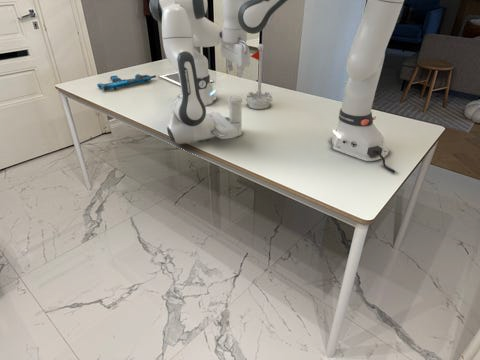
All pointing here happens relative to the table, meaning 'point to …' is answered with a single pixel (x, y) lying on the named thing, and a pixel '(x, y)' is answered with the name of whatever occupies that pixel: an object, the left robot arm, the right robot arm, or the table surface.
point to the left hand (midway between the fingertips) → (237, 121)
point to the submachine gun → (124, 82)
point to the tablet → (173, 78)
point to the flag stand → (259, 87)
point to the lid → (235, 100)
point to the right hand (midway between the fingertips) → (234, 73)
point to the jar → (236, 115)
